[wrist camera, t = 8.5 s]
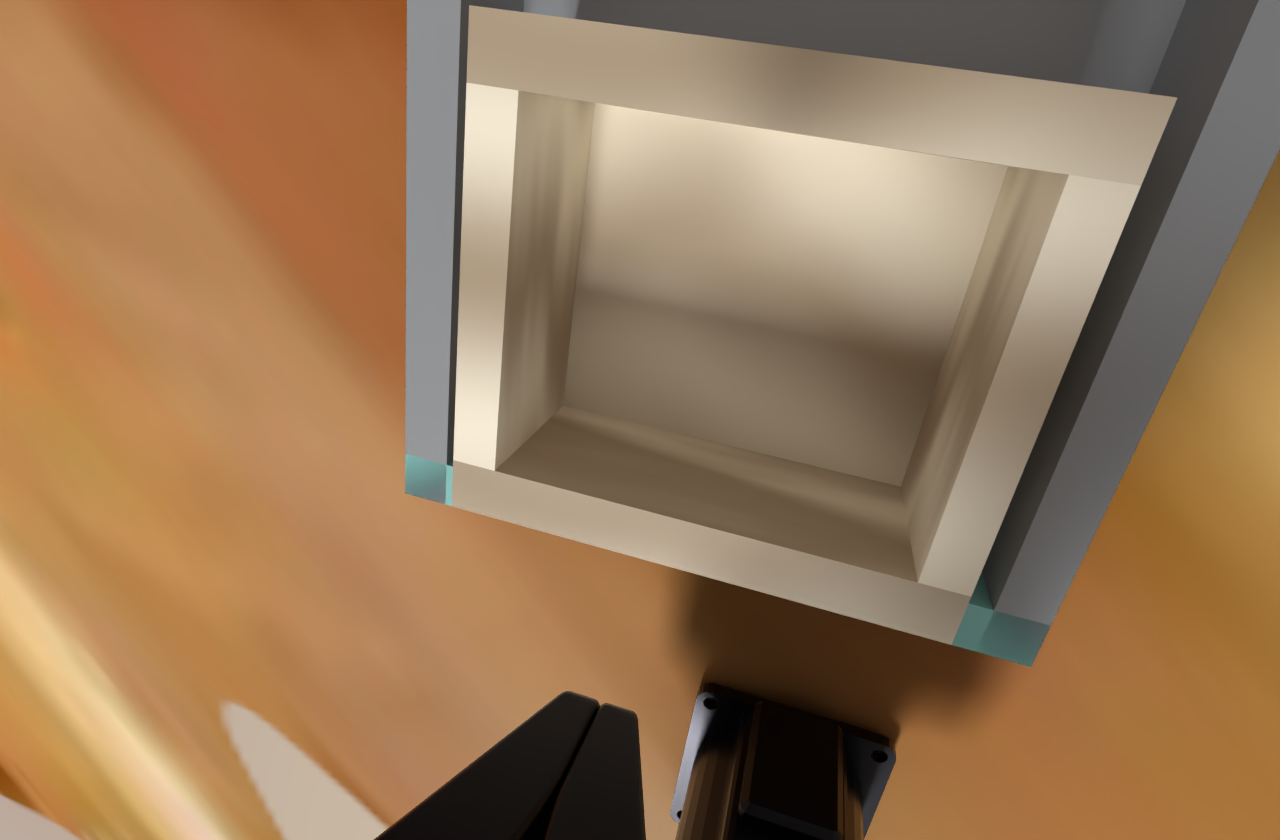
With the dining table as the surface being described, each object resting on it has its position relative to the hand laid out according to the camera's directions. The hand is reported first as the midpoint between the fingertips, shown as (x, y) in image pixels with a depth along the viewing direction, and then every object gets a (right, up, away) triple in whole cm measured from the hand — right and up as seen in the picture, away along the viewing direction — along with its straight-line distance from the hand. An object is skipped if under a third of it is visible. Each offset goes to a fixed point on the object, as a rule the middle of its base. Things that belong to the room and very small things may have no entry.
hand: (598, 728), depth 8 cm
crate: (+3, +6, +10) cm, 12 cm away
